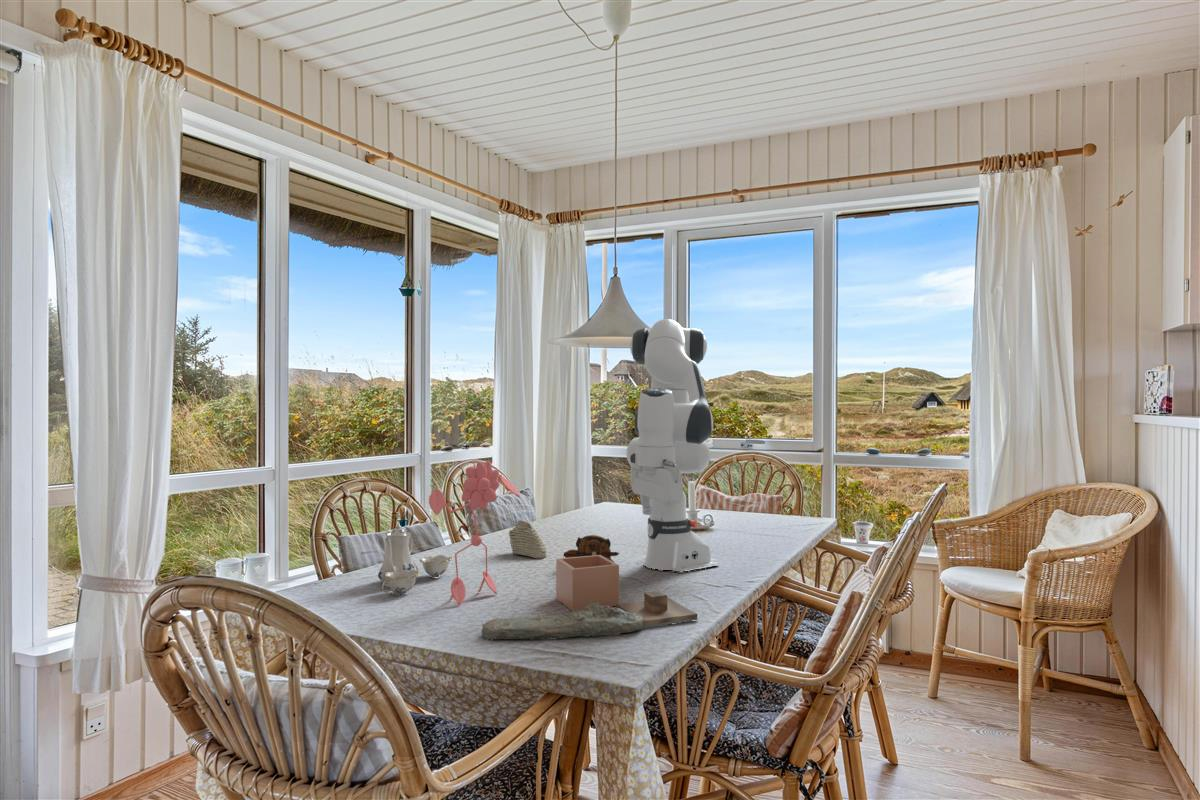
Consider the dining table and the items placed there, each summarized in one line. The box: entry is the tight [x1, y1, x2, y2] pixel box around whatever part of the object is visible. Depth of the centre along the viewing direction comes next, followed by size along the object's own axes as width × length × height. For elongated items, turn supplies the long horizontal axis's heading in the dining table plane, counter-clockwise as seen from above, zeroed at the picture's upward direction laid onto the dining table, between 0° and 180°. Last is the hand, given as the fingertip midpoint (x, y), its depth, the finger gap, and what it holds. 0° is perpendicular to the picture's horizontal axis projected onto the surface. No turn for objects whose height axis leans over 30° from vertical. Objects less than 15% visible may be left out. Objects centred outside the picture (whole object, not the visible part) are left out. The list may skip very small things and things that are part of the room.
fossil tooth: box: [508, 518, 548, 560], centre depth 227 cm, size 12×6×15 cm
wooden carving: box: [562, 534, 620, 563], centre depth 208 cm, size 16×5×10 cm, turn 92°
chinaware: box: [377, 523, 453, 596], centre depth 192 cm, size 28×17×17 cm, turn 169°
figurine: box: [428, 459, 521, 606], centre depth 175 cm, size 15×26×35 cm, turn 139°
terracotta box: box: [555, 555, 620, 612], centre depth 176 cm, size 12×12×10 cm
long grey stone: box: [480, 603, 643, 641], centre depth 153 cm, size 35×5×10 cm
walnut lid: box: [615, 590, 698, 626], centre depth 165 cm, size 14×14×4 cm
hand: (656, 517), depth 165 cm, fingers open, 8 cm apart
